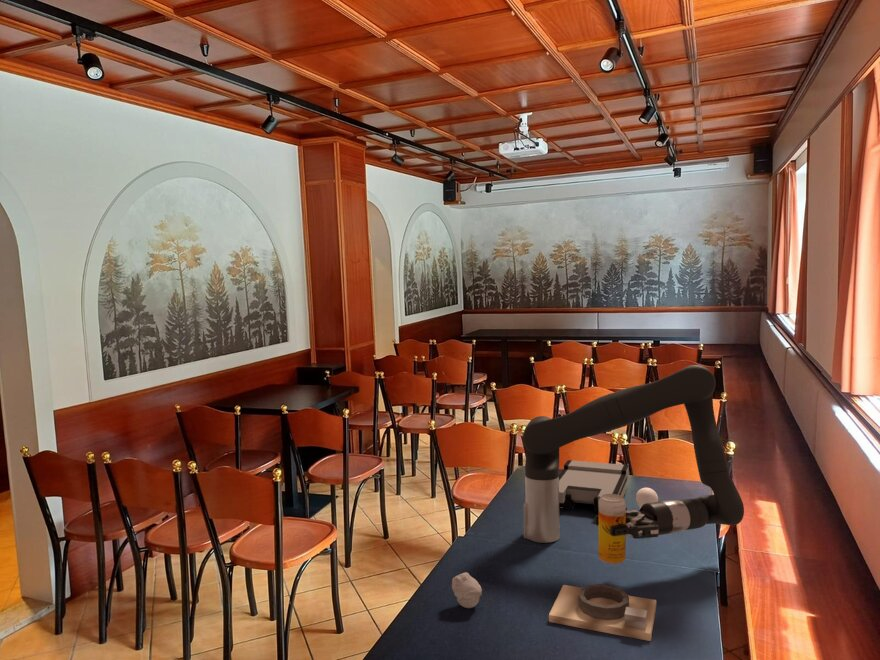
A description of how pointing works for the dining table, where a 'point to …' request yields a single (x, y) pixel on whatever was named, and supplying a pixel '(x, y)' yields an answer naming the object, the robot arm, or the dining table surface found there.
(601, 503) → the beer can
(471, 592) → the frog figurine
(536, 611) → the dining table surface
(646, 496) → the lightbulb
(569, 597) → the board
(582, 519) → the dining table surface
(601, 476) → the game console
